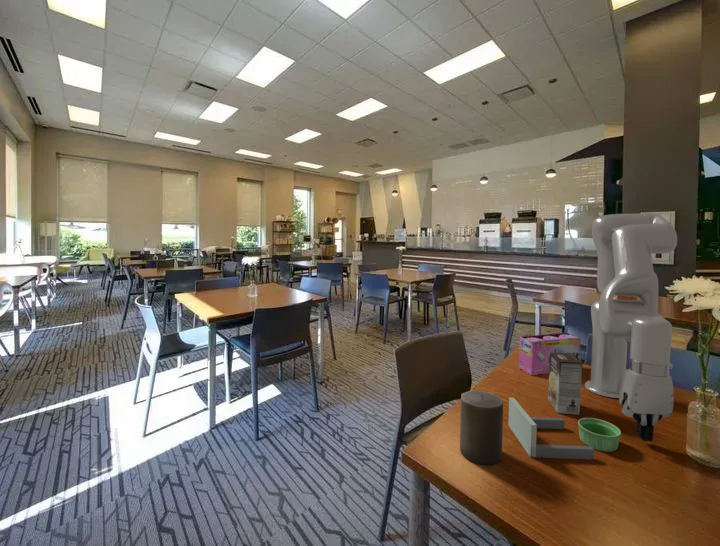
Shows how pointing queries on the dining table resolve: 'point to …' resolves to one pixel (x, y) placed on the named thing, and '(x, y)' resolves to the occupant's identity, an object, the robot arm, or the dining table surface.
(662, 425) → the dining table surface
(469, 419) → the pillar candle
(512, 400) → the display stand
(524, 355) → the gum box
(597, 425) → the ramekin
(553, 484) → the dining table surface
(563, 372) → the coffee box
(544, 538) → the dining table surface
